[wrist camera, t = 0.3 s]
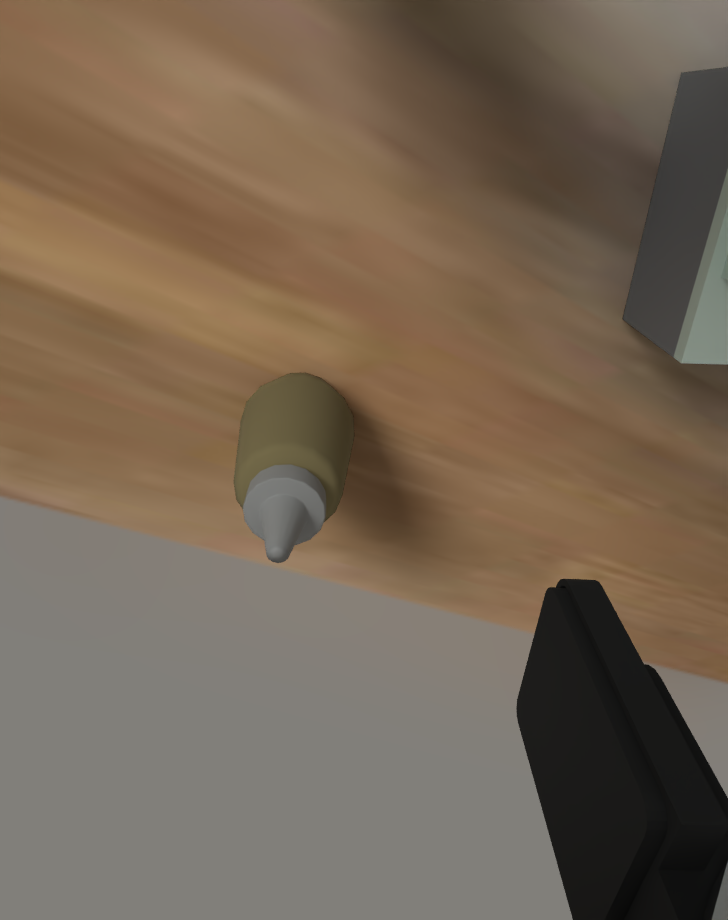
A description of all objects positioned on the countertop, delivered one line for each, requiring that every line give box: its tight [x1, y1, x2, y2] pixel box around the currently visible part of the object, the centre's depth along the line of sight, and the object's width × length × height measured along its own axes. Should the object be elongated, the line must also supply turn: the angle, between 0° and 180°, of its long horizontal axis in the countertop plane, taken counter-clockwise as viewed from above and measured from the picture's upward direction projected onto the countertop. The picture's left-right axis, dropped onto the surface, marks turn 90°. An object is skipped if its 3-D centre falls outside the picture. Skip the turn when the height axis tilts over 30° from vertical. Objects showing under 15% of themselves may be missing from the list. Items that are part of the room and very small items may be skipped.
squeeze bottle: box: [234, 373, 354, 563], centre depth 40 cm, size 8×8×18 cm
